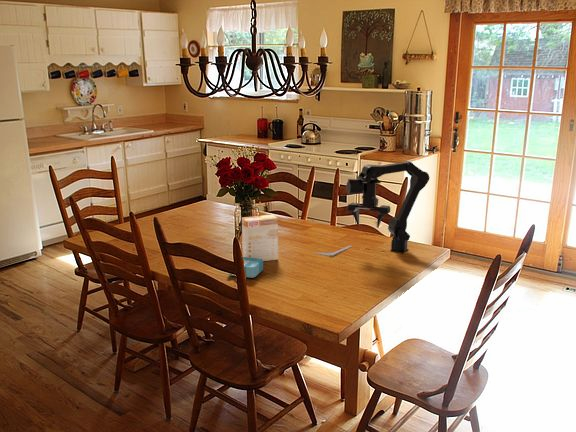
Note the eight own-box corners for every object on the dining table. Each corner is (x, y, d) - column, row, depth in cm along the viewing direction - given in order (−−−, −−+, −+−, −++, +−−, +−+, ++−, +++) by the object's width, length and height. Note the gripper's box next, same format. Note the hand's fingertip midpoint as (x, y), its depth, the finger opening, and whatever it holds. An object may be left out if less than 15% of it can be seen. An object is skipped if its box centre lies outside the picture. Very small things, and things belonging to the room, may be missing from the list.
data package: (253, 267, 216) (226, 264, 219) (254, 278, 217) (226, 275, 220) (264, 258, 227) (237, 256, 230) (264, 268, 228) (238, 266, 231)
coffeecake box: (273, 255, 246) (273, 214, 242) (278, 259, 240) (278, 217, 235) (242, 258, 241) (241, 216, 236) (246, 263, 234) (245, 220, 230)
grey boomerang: (351, 248, 257) (352, 246, 257) (331, 257, 243) (331, 255, 243) (326, 242, 266) (326, 241, 266) (305, 251, 252) (305, 249, 252)
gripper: (393, 191, 244) (392, 224, 247) (354, 188, 251) (353, 220, 255) (387, 195, 234) (386, 230, 238) (347, 192, 241) (346, 226, 245)
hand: (368, 226), depth 244 cm, fingers open, 9 cm apart
